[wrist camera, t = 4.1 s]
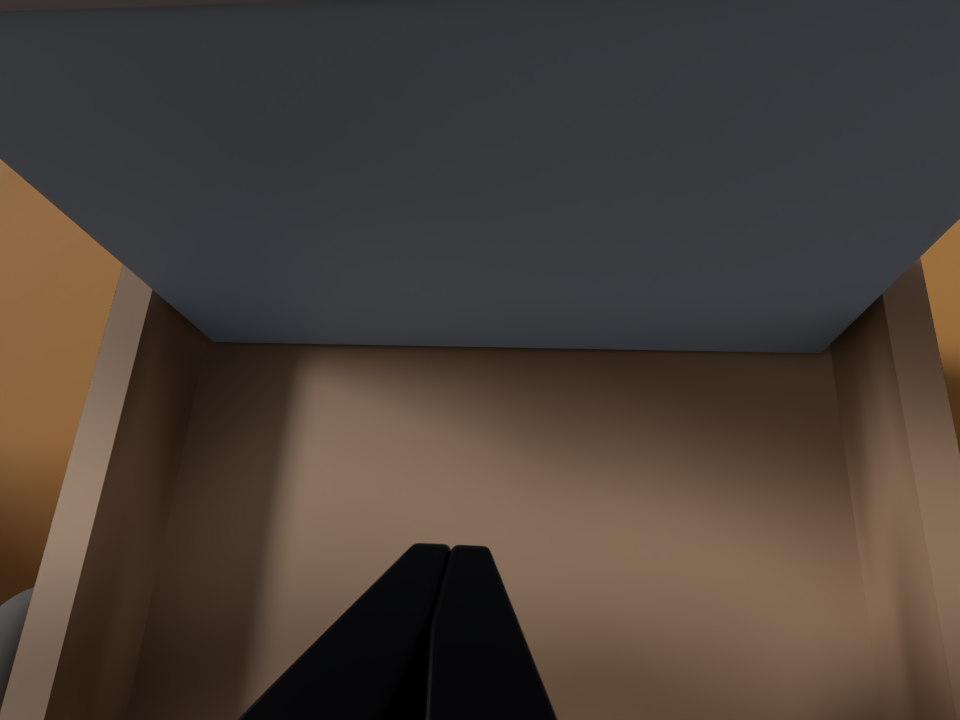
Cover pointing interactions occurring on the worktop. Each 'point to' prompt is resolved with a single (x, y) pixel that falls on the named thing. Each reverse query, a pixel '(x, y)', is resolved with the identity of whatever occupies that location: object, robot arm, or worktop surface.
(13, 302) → the worktop surface
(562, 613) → the tray
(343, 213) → the tailgate
